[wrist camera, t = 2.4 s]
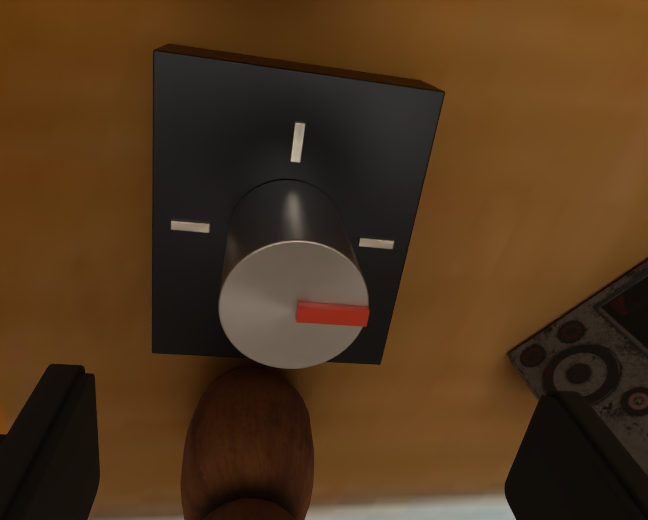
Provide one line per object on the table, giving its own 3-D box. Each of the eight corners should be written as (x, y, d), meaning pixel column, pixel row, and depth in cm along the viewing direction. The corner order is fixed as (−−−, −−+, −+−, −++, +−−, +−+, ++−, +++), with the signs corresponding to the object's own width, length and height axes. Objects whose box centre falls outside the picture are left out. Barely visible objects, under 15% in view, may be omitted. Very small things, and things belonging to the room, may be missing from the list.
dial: (224, 280, 21) (213, 372, 15) (232, 173, 19) (222, 237, 13) (333, 288, 21) (357, 379, 16) (350, 186, 19) (384, 252, 14)
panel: (163, 315, 24) (150, 355, 22) (167, 43, 19) (152, 50, 16) (368, 328, 26) (381, 367, 23) (421, 80, 21) (447, 92, 18)
